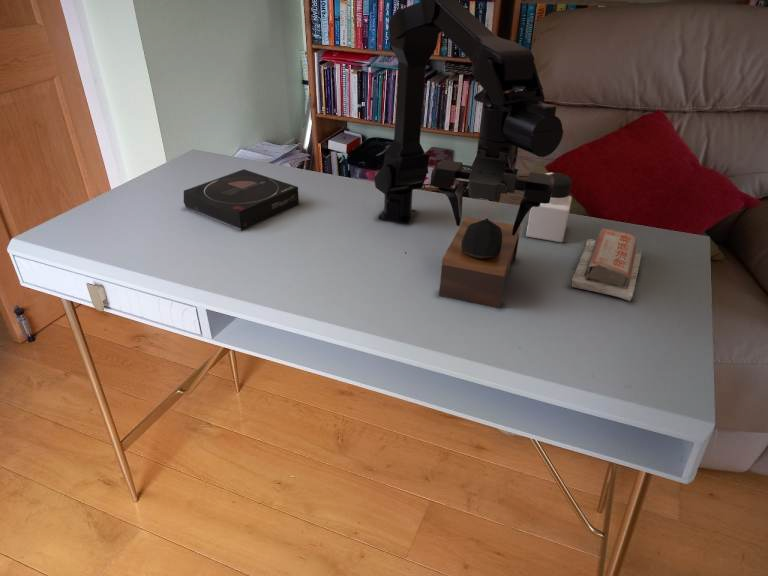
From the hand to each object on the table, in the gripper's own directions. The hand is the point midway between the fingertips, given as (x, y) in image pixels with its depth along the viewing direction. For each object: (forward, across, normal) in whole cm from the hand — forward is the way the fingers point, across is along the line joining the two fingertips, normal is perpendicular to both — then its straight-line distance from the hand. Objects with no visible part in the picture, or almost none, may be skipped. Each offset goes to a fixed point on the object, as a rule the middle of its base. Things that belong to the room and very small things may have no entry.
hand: (485, 229), depth 98 cm
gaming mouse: (+2, 0, 0) cm, 2 cm away
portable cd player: (+9, -53, +11) cm, 55 cm away
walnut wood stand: (+9, 0, 0) cm, 9 cm away
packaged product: (+9, +21, +10) cm, 25 cm away
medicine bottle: (+9, +9, +22) cm, 26 cm away
